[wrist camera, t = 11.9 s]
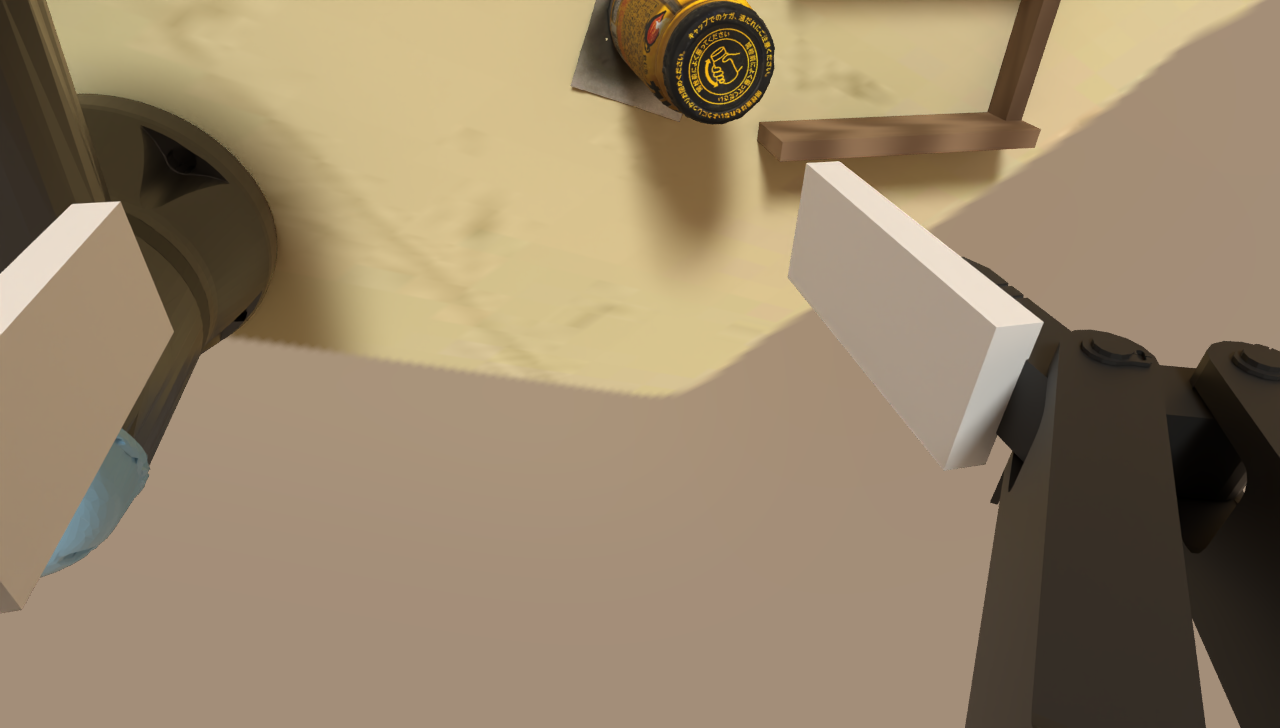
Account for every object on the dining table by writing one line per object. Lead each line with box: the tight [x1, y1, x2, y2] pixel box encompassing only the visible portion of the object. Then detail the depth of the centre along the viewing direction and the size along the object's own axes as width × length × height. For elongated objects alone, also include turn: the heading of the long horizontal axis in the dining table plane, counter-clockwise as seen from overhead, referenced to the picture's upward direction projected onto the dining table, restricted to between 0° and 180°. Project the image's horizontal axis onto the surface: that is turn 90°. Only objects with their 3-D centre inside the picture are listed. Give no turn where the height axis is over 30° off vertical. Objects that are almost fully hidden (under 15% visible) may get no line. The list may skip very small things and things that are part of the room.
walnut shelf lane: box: [757, 0, 1061, 162], centre depth 44 cm, size 18×13×4 cm
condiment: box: [571, 0, 775, 124], centre depth 38 cm, size 7×8×12 cm
